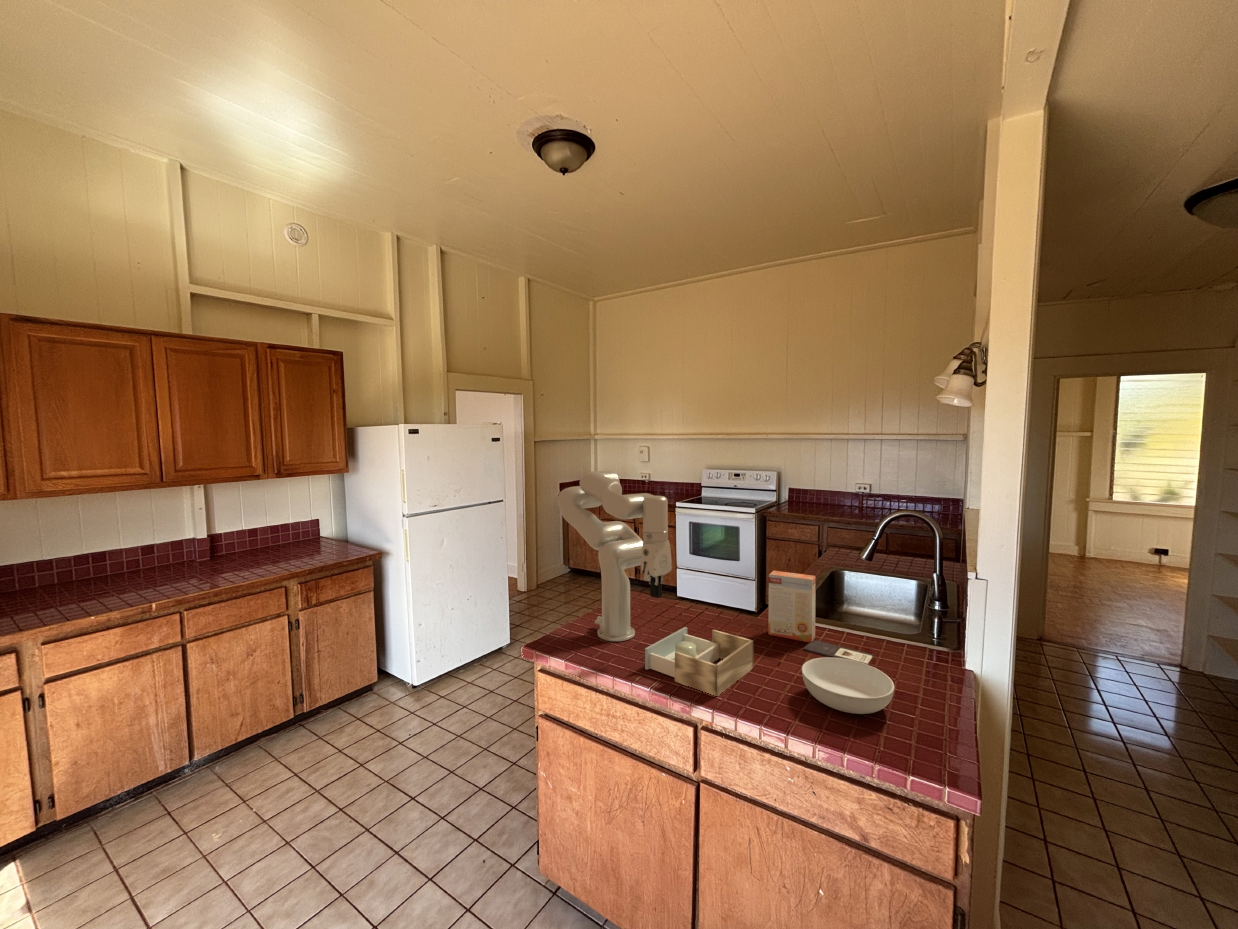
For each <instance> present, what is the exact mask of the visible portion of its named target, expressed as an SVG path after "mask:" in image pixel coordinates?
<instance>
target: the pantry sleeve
mask: <svg viewBox="0 0 1238 929" xmlns="http://www.w3.org/2000/svg"><path fill="white" fill-rule="evenodd" d="M711 634H712V635H711V642H715V643H718V644H720V658H721V659H720V661H719V662H717V663H714V662H713V663H710V662H707V661H704V660H701V659H698V658H695V657H692V656H689V655H685V654H682V653H679V652H675V677H674V682H675V683H678V684H681V685H683V686H686V687H688V686H689V687H688V688H691V687H692V688H691V689H694V688H695V689H694V690H696V689H697V690H696V691H699V690H700V691H699V692H702V691H703V693H705V692H706V693H705V694H707V693H709V694H708V695H710V694H711V695H710V696H713V695H714V696H713V697H715V696H718V697H719V696H721V695H722V694H723V693H724V692H726V691H727V690H728V689H729V688H730V687H732V686H733V685H734V684H735V683H736V681H737V680H738V681H739V680H740V679H742V678H743V677H744V676H745V675H746V674H748V673H750V671H751V670H752V669H754V640H752V639H749V638H746V637H743V636H738V635H734V634H731V633H727V632H724V631H719V630H717V629H712V630H711ZM722 659H723V660H722ZM738 681H737V682H738ZM731 685H732V686H731ZM727 688H728V689H727ZM726 689H727V690H726ZM722 692H723V693H722ZM721 693H722V694H721ZM720 694H721V695H720Z"/></svg>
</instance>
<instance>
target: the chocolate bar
mask: <svg viewBox="0 0 1238 929" xmlns="http://www.w3.org/2000/svg"><path fill="white" fill-rule="evenodd" d="M802 651H804V652H807V653H808V652H809V653H813V654H817V655H820V656H822V657H823V656H825V657H832V658H843V659H849V660H853V661H857V662H861V663H864V664H867V665H869V663H870V662H871V660H872V659H873V658H874V653H869V652H865V651H862V650H861V651H860V650H857V649H852V648H849V647H845V646H841V645H837V644H833V643H829V642H825V641H821V640H816V639H814V640H813V641H812V642H807V644H806V645H804V647H803V648H802Z"/></svg>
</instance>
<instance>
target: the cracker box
mask: <svg viewBox="0 0 1238 929" xmlns="http://www.w3.org/2000/svg"><path fill="white" fill-rule="evenodd" d="M767 620H768V628H767V629H768V635H770V636H775V637H779V638H785V639H790V640H794V641H799V642H805V643H809V642H812V641H813V640H815V638H816V575H812V574H811V575H810V574H802V573H796V572H788V571H787V572H786V571H780V570H772V571H771V572H770V573H768V619H767Z"/></svg>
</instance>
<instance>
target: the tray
mask: <svg viewBox="0 0 1238 929" xmlns="http://www.w3.org/2000/svg"><path fill="white" fill-rule="evenodd" d="M682 641H687V642H692V643H694V644H695V645H696V657H695V658H698V659H701V660H704V661H707V662H710V663H713V664H714V663H715V662H716V661H718V660H720V659H719V658H720V644H718V643H715V642H712V640H711V641H710V640H707V639H704V638H701V637H697V636H694V635H690V634H688V627H686V626H684V627H682V628H680V629H679V630H677V631H675V632H673V633H670V634H669V635H668V636H665V637H664V638H661V639H659V640H658V641H656V642H655V643H652V644H650V645H649V646H647V647H645V648H644V665H645V666H644V669H645V670H647V671H648V670H650V669H651V670H653V671H656V672H658V673H661V674H664V675H667V676H670V677H673V678H675V644H676V643H678V642H682Z"/></svg>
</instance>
